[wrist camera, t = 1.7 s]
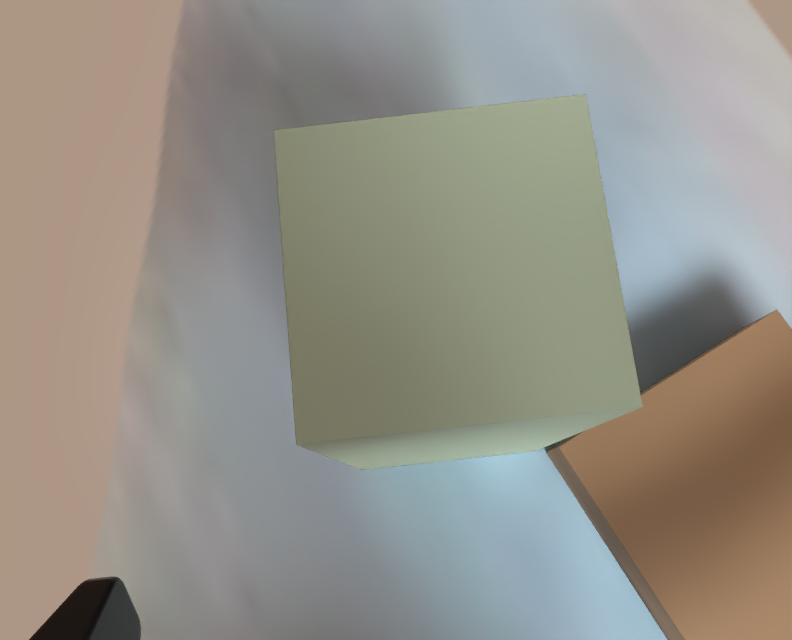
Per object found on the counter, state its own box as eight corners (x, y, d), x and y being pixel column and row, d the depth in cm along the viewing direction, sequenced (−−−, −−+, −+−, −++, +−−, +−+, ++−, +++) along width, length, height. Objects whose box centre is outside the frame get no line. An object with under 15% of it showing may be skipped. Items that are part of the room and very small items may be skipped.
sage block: (534, 451, 21) (642, 406, 11) (361, 469, 21) (296, 444, 11) (509, 285, 22) (586, 94, 12) (346, 303, 23) (274, 129, 12)
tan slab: (893, 537, 21) (955, 542, 18) (688, 675, 20) (724, 700, 18) (738, 330, 22) (776, 309, 20) (543, 452, 22) (558, 447, 19)
